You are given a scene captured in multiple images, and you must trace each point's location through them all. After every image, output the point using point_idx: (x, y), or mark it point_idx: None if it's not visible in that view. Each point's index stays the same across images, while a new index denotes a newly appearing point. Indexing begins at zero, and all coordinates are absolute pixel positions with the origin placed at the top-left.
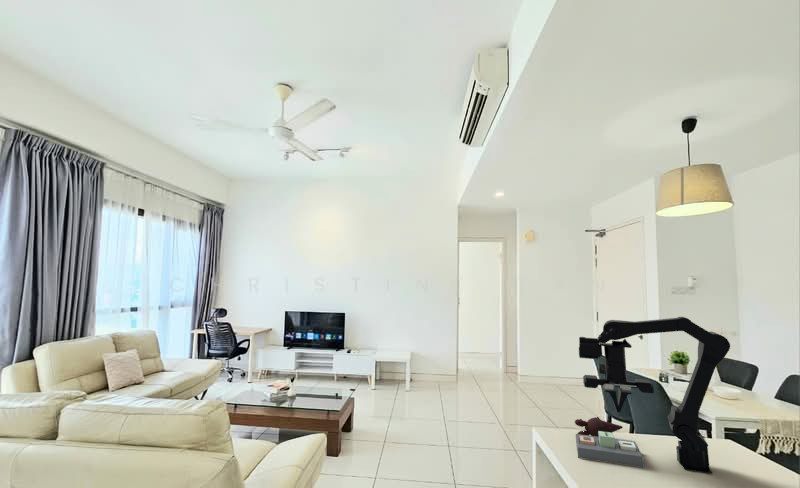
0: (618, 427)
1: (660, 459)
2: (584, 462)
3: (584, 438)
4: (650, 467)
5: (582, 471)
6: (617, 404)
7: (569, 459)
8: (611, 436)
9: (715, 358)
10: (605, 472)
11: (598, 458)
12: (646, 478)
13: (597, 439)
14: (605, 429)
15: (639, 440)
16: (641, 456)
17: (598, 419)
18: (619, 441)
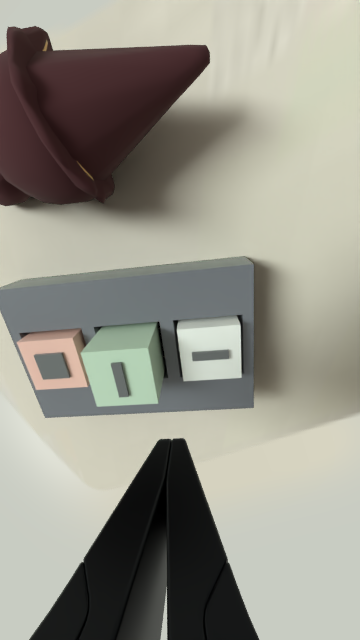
0: (181, 90)
1: (324, 294)
2: None
3: (44, 374)
4: (267, 373)
5: (92, 457)
6: (161, 586)
7: None
8: (145, 396)
9: None
10: (143, 444)
11: None
12: (240, 438)
13: (90, 317)
14: (106, 169)
15: (293, 63)
16: (249, 407)
17: (34, 130)
18: (180, 338)
